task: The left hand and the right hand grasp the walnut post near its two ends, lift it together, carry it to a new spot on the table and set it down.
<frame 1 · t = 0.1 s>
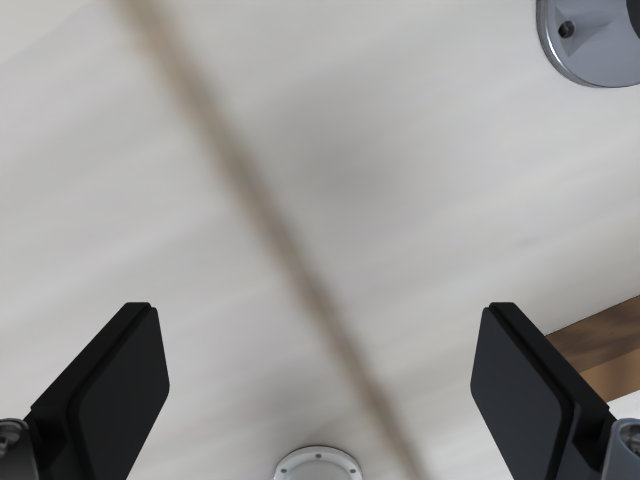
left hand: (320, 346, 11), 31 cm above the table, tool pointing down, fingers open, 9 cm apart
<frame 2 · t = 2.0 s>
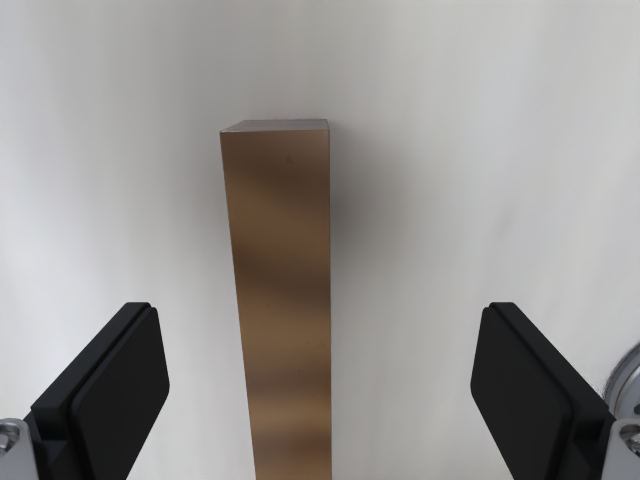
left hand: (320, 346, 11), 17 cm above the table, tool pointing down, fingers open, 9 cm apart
post: (300, 450, 36), on the table
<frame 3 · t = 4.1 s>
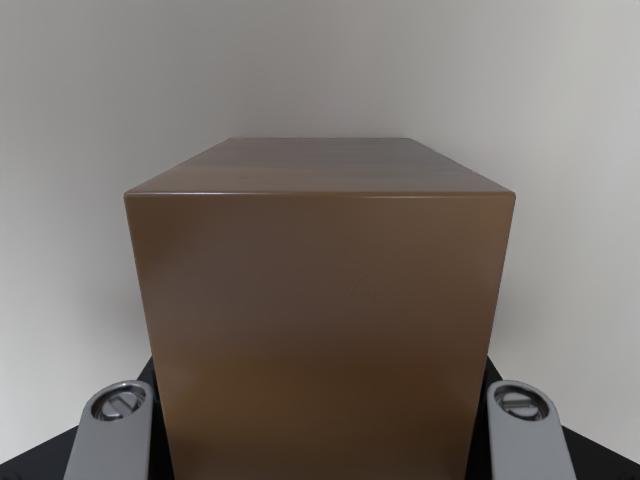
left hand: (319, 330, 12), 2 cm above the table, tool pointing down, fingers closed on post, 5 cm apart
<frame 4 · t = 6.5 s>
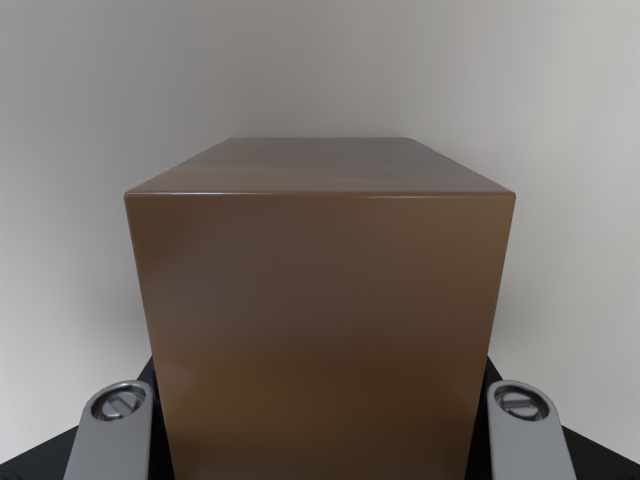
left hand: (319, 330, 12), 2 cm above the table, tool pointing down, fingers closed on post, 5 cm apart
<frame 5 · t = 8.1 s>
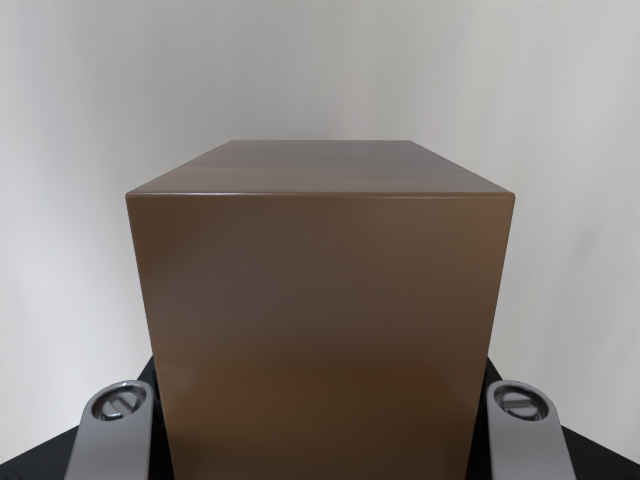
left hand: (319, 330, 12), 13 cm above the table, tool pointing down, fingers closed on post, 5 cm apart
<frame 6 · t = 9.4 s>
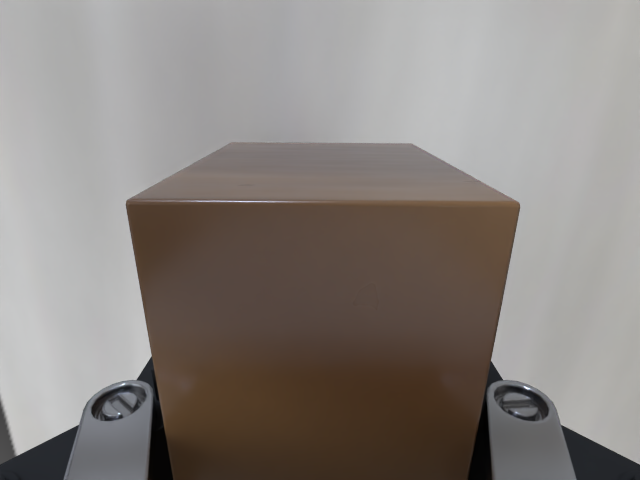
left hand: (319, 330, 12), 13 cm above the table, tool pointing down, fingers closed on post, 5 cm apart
when the right hand's fingers open (2 cm above the table, at t = 12.4 s): post drops 1 cm, on the table.
when the left hand's fingers open (3 cm above the table, at t = 12.5 s): post stays where it is, on the table.
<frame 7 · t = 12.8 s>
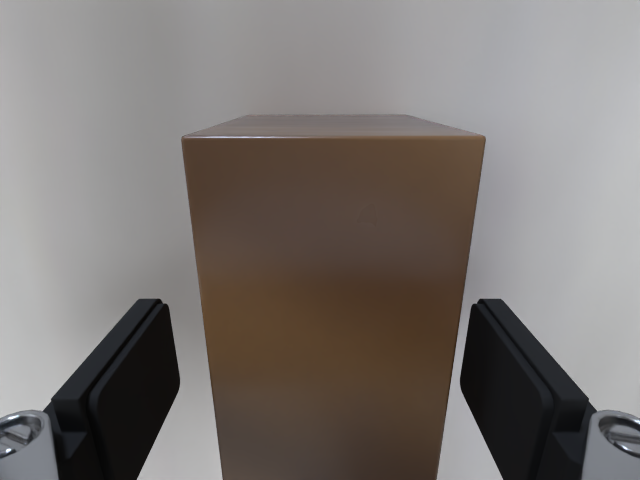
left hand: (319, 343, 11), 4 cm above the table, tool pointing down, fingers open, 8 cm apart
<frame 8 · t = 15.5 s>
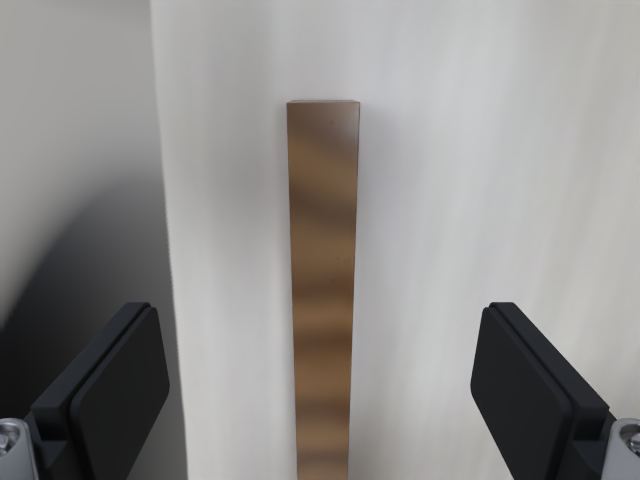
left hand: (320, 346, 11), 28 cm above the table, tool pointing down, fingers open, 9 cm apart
post: (322, 367, 46), on the table
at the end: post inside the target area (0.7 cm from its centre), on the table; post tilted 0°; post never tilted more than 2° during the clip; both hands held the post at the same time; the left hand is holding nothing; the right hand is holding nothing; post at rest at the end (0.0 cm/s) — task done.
